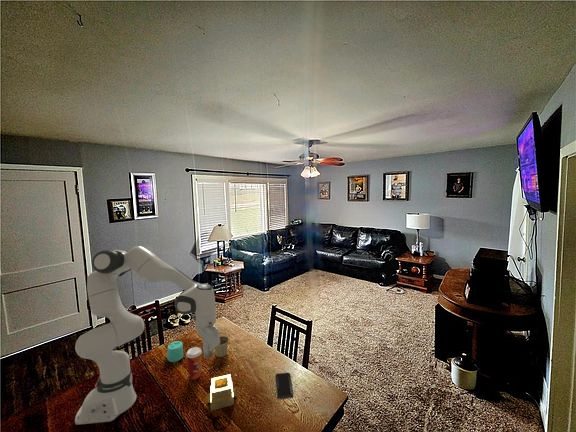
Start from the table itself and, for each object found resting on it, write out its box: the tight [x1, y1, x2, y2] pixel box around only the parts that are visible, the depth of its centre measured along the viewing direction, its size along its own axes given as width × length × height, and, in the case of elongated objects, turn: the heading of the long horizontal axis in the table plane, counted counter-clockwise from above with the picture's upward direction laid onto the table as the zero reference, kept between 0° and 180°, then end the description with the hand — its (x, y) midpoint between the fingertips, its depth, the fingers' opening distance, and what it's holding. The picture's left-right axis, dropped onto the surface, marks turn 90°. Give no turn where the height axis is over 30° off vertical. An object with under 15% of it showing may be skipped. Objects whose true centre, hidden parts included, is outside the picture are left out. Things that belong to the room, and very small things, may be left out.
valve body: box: [206, 374, 237, 411], centre depth 116 cm, size 13×10×8 cm
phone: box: [274, 372, 294, 399], centre depth 125 cm, size 8×1×15 cm
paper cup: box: [185, 346, 203, 380], centre depth 131 cm, size 8×8×14 cm
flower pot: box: [214, 335, 230, 358], centre depth 149 cm, size 9×9×9 cm
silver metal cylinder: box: [201, 337, 214, 359], centre depth 117 cm, size 4×4×9 cm
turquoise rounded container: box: [166, 340, 184, 363], centre depth 146 cm, size 8×8×8 cm
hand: (208, 347), depth 117 cm, fingers closed on silver metal cylinder, 4 cm apart
